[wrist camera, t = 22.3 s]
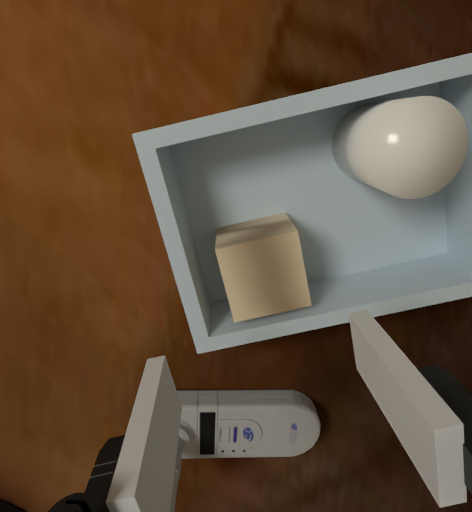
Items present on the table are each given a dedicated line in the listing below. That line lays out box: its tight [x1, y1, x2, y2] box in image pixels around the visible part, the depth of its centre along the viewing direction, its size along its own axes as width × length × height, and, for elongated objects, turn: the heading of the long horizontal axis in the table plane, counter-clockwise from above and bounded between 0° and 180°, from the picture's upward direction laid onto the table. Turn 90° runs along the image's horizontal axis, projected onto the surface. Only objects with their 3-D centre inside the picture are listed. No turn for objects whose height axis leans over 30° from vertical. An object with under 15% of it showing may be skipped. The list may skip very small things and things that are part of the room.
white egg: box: [332, 96, 468, 199], centre depth 23 cm, size 5×5×7 cm
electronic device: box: [170, 390, 321, 512], centre depth 30 cm, size 5×10×15 cm
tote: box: [132, 53, 472, 354], centre depth 25 cm, size 20×14×6 cm
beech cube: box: [215, 212, 312, 323], centre depth 26 cm, size 5×5×5 cm
